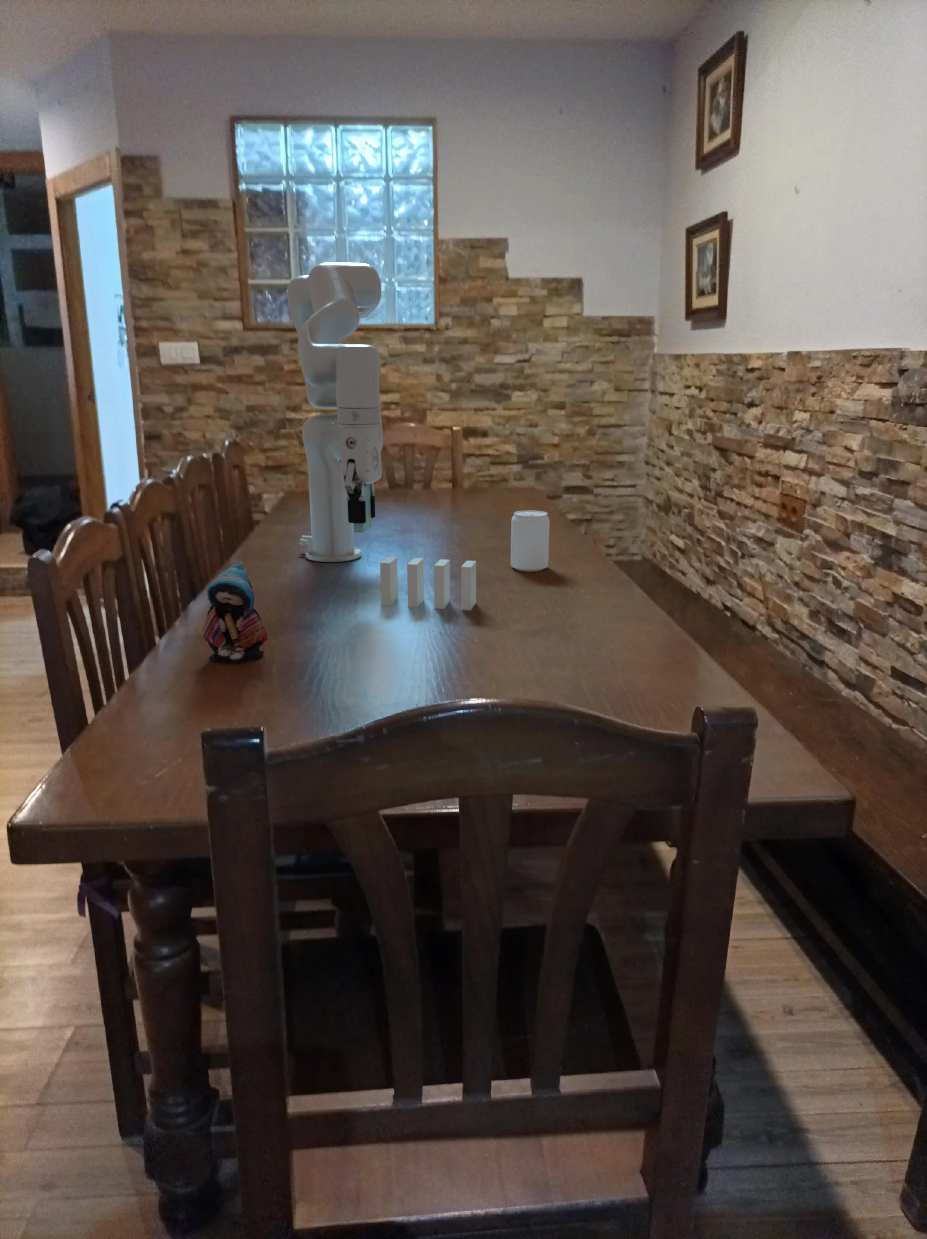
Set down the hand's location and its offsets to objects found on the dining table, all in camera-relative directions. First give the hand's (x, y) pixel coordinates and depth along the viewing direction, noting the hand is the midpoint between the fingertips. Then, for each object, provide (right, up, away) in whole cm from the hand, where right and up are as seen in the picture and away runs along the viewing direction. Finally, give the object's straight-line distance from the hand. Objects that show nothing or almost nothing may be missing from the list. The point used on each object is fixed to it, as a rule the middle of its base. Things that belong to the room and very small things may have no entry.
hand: (362, 519), depth 158 cm
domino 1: (0, -2, +1) cm, 2 cm away
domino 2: (+5, -15, +4) cm, 16 cm away
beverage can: (+33, -7, +30) cm, 45 cm away
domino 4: (+15, -16, +2) cm, 21 cm away
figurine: (-16, -25, -28) cm, 40 cm away
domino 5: (+20, -16, +1) cm, 25 cm away
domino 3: (+10, -15, +3) cm, 18 cm away
